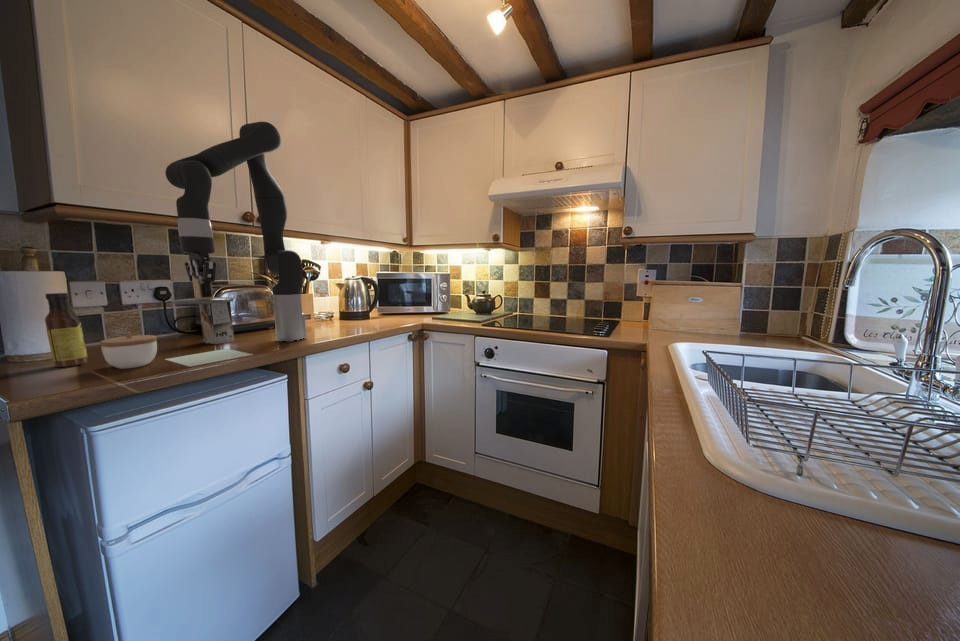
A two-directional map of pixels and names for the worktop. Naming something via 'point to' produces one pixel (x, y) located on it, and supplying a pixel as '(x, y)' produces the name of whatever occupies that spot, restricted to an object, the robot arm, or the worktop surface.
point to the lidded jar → (129, 350)
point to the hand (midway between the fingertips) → (203, 296)
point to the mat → (208, 357)
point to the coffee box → (216, 322)
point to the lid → (199, 298)
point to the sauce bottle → (64, 332)
